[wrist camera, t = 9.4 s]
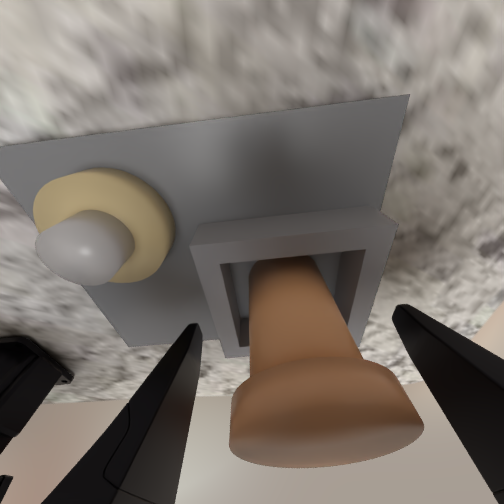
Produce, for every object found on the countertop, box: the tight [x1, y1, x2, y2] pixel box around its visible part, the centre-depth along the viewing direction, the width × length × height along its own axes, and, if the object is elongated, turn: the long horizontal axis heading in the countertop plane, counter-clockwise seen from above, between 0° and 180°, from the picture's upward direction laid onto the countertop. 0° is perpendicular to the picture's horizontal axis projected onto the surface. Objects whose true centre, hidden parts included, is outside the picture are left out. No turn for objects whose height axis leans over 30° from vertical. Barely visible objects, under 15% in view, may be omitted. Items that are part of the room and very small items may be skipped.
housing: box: [0, 94, 410, 358], centre depth 10 cm, size 16×13×4 cm
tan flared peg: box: [229, 255, 424, 468], centre depth 9 cm, size 5×5×7 cm
